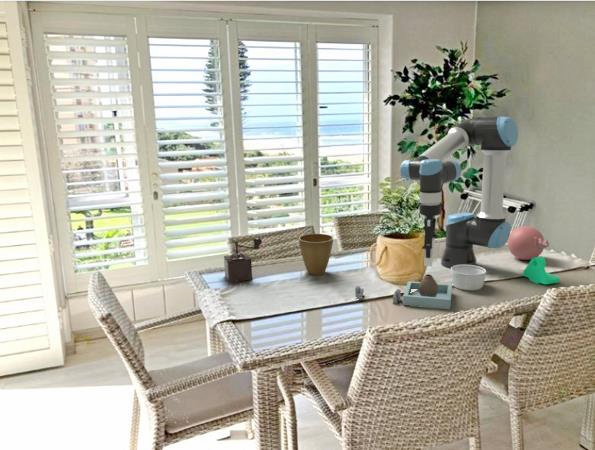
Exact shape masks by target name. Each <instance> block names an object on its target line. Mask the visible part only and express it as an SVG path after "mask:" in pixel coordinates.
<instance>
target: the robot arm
mask: <svg viewBox="0 0 595 450" xmlns="http://www.w3.org/2000/svg"><path fill="white" fill-rule="evenodd" d="M518 141H519V129H518V125H517V123H516V121H515V119H514V118H512V117H510V116H502V115H501V116H474V117H471V118H468V119H466V120H464V121H461V122H459V123H457V124H456V125H455V126H453V127H452V128H450V129H449V130H448V131H447V134H446V135H445V136H444V137H442V138H441V139H439V140H438V141H437V142H436V143H434V144H433V145H432V146H430V147H429V148H428V149H426V150H425V151H424V152H423V153H421V154H420V155H418V156H417V157H416V158H415V159H405V160H404V161H402V162H401V164H400V167H399V170H400V171H399V172H400V175H401V177H402V178H403V179H405V180H410V181H419V193H417V197H419V203H420V204H419V205H418V206H419V211H418V212H419V214H420V215H422V216H425V218H424V220H423V225H424V226H423V227H424V241H423V242H424V244H423V245H422V247H421V248H422V249H423V251H424V252H423V253H424V254H423V257H424V258H423V266H424V267H433V256H435V255H436V254H435V253H436V251H435V250H436V246H435V245H436V238H437V236H438V234H436V224H437V219H436V216H440V215H441V214H442V204H441V203H442V201H443V200H442V198H443V197H442V195H443V193H442V192H443V191H442V186H443V185H445V184H448V183H452V182H455V181H457V180H458V179H459V178H461V175H462V167H461V165H460V164H459V163H458V161H453V160H447V159H448V158H449V157H451V156H452V155H454V154H455V153H456V152H457V151H459V150H460V149H464V148H466V147H469V146H480V151H481V152H482V153H483V167H482V168H483V169H482V181H481V182H482V183H481V198H480V208H479V209H480V210H479V212H478V213H477V214H476V215H475V213H473V212H459V213H458V212H457V213H452V214H450V215H447V218H446V224H445V247H444V250H443V252H442V256H441V259H440V264H441V265H442V266H443V267H446V268H450V269H451V267H453V266H456V265H475V266H477V257H476V254H475V251H474V246H479V247H485V248H488V249H496V250H497V249H501V248H503V247H504V246H505V245H506V243H508V238H509V235H510V234H511V232H512V231H511V230H512V229H511V228H512V227H511V224H510V223H509V222H508V221H506V217H507V216H506V215H505V214H504V213H503V206H504V193H505V192H504V190H505V181H506V168H507V167H506V166H507V155H508V154H509V153H510V152H511V150H512V147H514V146H515V145H517V142H518ZM446 160H447V161H446Z"/></svg>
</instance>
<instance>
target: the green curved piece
mask: <svg viewBox="0 0 595 450" xmlns="http://www.w3.org/2000/svg"><path fill="white" fill-rule="evenodd" d="M546 264H547V262H546V259H545V257H543V256H538V257H534V258H532V259H531V260H529V263H527V265H526V266H525V268H524V270H523V271H522V276H524V277H526V278H528V280H529V281H530V282H533V283H535V284H537V285H538V284H540V285H541V284H543V285H549V284H550V285H551V284H557V283H560V281H561V278H560V277H559V276H557V275H554V274H551V273H548V272H546V270H545V269H546V268H545V267H546Z"/></svg>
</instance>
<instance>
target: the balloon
mask: <svg viewBox="0 0 595 450" xmlns="http://www.w3.org/2000/svg"><path fill="white" fill-rule="evenodd" d="M549 246H550V243H549V240H548V239H545V238H544V235H543V234H542V232H541V231H540V230H539V229H537V228H535V227H533V226H529V225H528V226H527V225H523V226H519V227H516V228H515V229H513V230H512V231H510V235H509V238H508V240H507V248H508V250H509V252H510V253H511V255H512V256H514V257H515V258H516V259H519V260H522V261H531V259H532V258H534V257H540V255H542V253H543V252H544V250H545V249H546V248H548V247H549Z"/></svg>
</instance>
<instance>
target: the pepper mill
mask: <svg viewBox="0 0 595 450" xmlns="http://www.w3.org/2000/svg"><path fill="white" fill-rule="evenodd" d="M252 241H253V246H250V245H240V244H238V243H239V242H238V240H235V241H234V243H235V244H234V246H235V252H234V253H231V254H230V255H224V256H223V265H224V267H223V268H224V277H225V279H226V278H227V279H226V281H227V280H228V281H229V282H234V283H237V282H236V281H242V282H246V281H245V280H247V281H251V279H252V280H253V272H252V271H253V267H252V258H251V257H250V256H249V255H248V254H247V253H242V252H239V248H245V249H252V250H259V249H260V245H261V244H262V242H263V240H262V239H261V237H254V238H253V239H252ZM228 281H227V282H228ZM229 282H228V283H229Z"/></svg>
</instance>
